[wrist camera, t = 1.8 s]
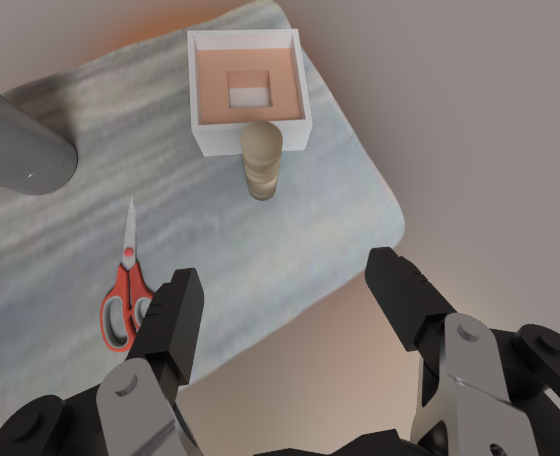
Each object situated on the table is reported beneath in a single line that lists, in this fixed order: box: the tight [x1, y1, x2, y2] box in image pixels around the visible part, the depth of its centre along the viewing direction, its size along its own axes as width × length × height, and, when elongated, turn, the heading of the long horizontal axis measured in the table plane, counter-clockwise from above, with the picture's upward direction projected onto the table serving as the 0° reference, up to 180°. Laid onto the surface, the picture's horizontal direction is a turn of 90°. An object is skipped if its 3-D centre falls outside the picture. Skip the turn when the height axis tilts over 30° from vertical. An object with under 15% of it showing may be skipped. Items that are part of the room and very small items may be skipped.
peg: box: [240, 121, 283, 201], centre depth 27 cm, size 4×4×12 cm
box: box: [187, 29, 313, 157], centre depth 32 cm, size 15×15×6 cm
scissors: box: [100, 195, 154, 352], centre depth 29 cm, size 8×21×2 cm, turn 19°
